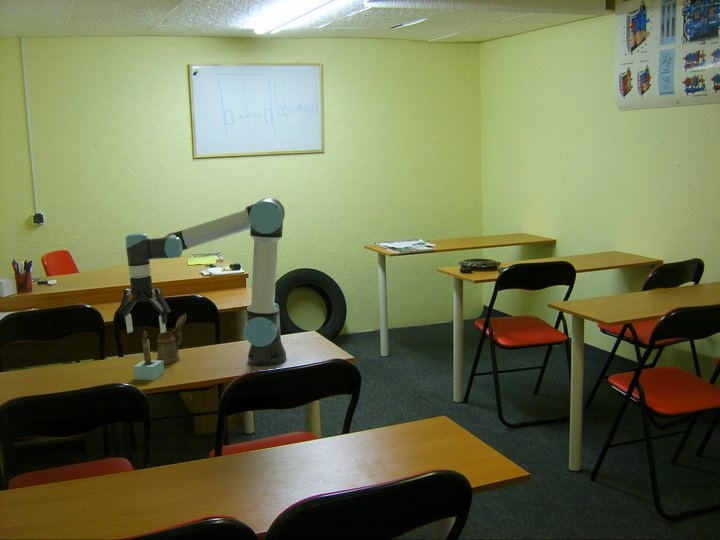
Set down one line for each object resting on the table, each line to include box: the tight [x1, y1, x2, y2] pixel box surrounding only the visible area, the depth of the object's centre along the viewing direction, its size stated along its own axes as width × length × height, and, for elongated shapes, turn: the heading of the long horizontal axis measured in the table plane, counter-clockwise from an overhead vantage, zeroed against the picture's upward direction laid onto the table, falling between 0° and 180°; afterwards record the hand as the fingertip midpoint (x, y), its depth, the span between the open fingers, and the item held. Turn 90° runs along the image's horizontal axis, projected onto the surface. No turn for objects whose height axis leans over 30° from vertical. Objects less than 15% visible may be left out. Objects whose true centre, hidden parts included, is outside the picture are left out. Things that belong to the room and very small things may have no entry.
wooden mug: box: [156, 313, 187, 365], centre depth 280 cm, size 9×14×18 cm, turn 125°
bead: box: [132, 359, 165, 381], centre depth 261 cm, size 8×8×5 cm
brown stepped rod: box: [141, 330, 152, 365], centre depth 260 cm, size 2×2×17 cm
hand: (146, 332), depth 258 cm, fingers open, 13 cm apart
